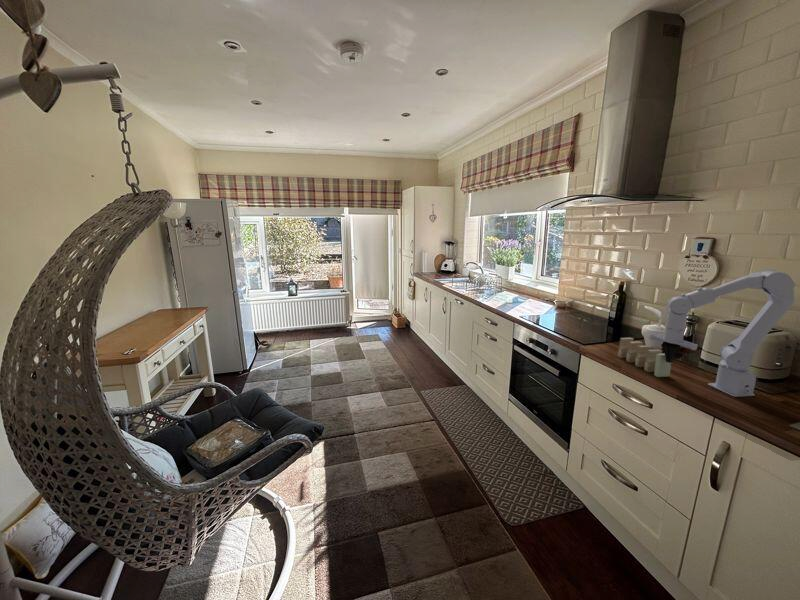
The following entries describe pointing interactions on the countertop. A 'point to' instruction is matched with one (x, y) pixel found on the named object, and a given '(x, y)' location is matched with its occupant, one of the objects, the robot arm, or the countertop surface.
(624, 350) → the domino
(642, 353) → the domino
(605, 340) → the countertop surface
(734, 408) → the countertop surface
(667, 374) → the domino
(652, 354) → the domino
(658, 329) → the potted plant
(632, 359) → the domino
